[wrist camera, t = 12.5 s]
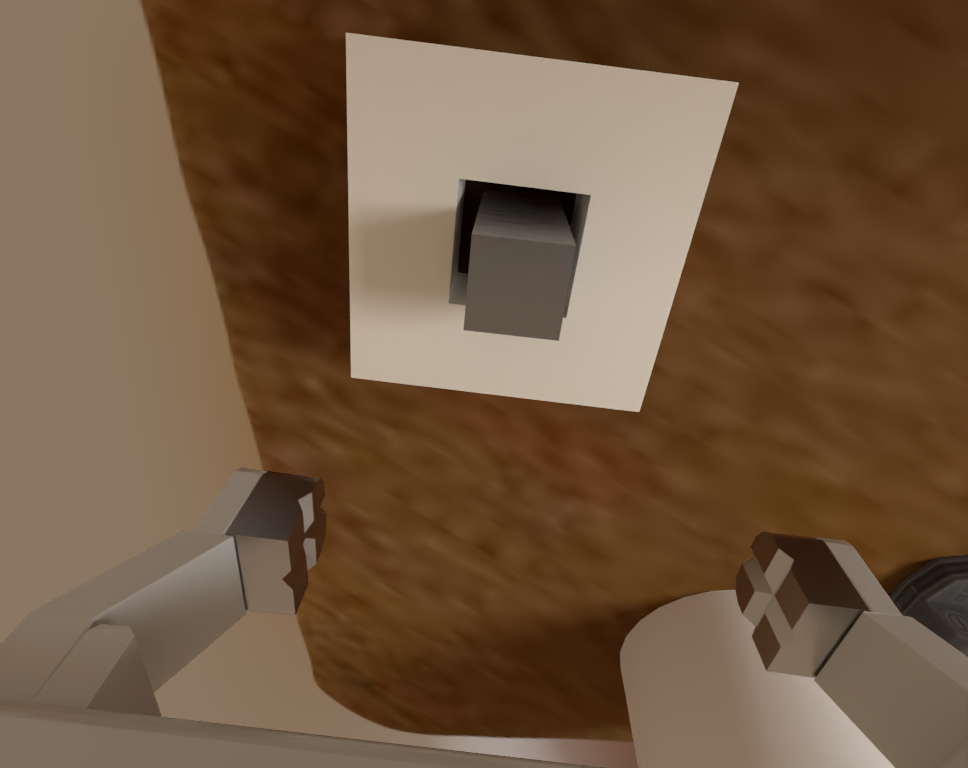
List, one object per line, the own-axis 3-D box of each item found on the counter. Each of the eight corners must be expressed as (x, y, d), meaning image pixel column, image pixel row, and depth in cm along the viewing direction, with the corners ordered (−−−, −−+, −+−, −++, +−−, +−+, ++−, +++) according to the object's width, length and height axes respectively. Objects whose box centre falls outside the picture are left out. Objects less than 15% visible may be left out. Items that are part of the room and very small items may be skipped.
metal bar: (484, 186, 29) (471, 234, 21) (558, 195, 29) (576, 245, 21) (477, 259, 31) (463, 330, 23) (546, 267, 31) (558, 340, 23)
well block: (373, 39, 26) (345, 32, 22) (701, 81, 26) (739, 82, 22) (371, 338, 34) (350, 377, 30) (623, 369, 34) (639, 412, 30)
